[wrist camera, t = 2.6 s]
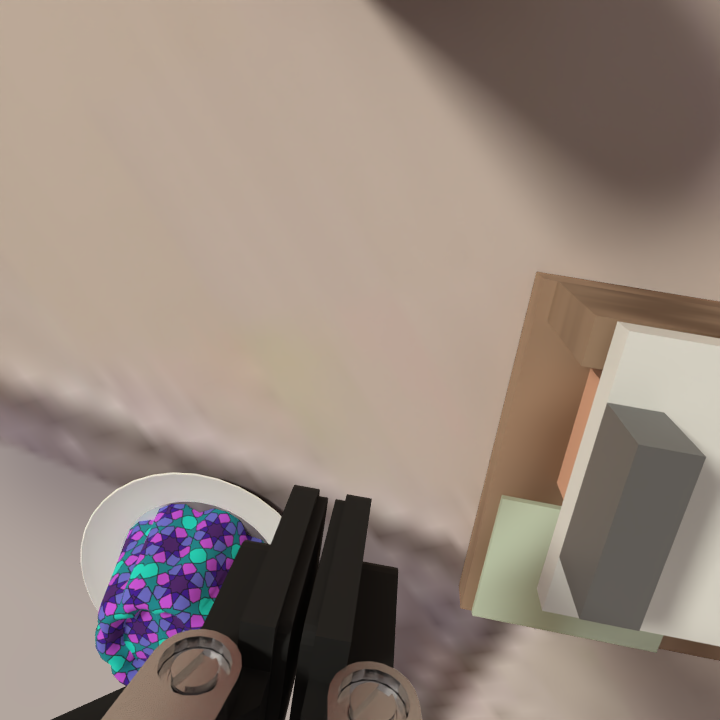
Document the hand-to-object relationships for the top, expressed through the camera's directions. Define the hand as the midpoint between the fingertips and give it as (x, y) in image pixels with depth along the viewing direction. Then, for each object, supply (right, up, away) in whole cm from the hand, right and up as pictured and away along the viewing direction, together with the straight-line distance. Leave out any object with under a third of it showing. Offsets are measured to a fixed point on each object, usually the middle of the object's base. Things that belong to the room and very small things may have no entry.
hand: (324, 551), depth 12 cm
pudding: (-7, -6, +17) cm, 20 cm away
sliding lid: (+11, 0, +5) cm, 12 cm away
